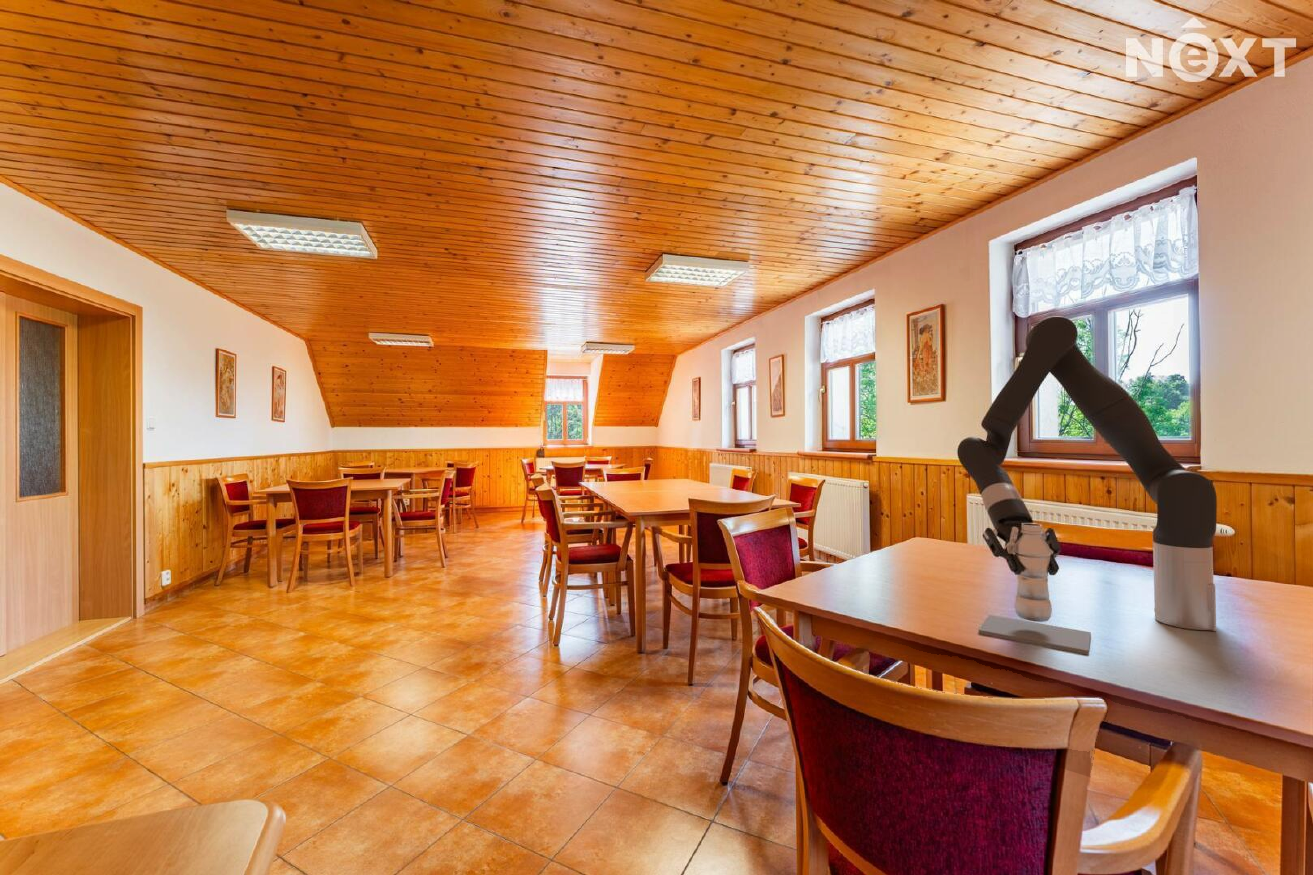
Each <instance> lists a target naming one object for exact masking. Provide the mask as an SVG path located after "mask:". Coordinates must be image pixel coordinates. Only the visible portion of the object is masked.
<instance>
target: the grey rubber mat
mask: <svg viewBox="0 0 1313 875" xmlns="http://www.w3.org/2000/svg"><path fill="white" fill-rule="evenodd" d="M978 634H979V635H984V636H990V637H995V638H1000V639H1004V640H1005V639H1006V640H1010V641H1015V642H1020V643H1025V642H1026V643H1025V644H1031V645H1035V646H1036V645H1037V646H1041V647H1045V648H1050V649H1051V648H1052V649H1057V650H1061V651H1067V652H1071V653H1075V654H1081V655H1087V656H1088V655H1089V654H1090V653H1089V652H1090V647H1091V646H1090V645H1091V638H1092V632H1091V631H1086V630H1079V629H1075V628H1074V629H1073V628H1069V627H1068V628H1067V627H1062V626H1057V625H1050V624H1046V623H1040V622H1035V621H1030V620H1024V619H1023V620H1022V619H1015V618H1010V617H1005V616H999V615H994V614H988V615H987V617H986V618H985V620H984V621H983V622H982V624H981V626H980V627H979V629H978Z"/></svg>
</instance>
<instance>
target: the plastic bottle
mask: <svg viewBox="0 0 1313 875" xmlns="http://www.w3.org/2000/svg"><path fill="white" fill-rule="evenodd" d="M1042 530H1043V525H1042V524H1040V523H1034V522H1033V523H1022V524H1021V533H1022V536H1021V537H1020V538H1019V539H1018V541H1017V542H1016V544H1015V546H1014V553H1013V554H1016V556H1017V558H1018V560H1019V563H1020V565H1021V567H1022V572H1021V573H1020V575H1016V576H1017V577H1016V578H1017V584H1016V594H1015V597H1014V598H1015V599H1014V605H1013V606H1014V610H1015V613H1016V615H1017V616H1018V617H1019V618H1020V619H1023V620H1025V621H1029V622H1035V623H1040V622H1041V623H1043V622H1048V621H1049V620H1050V619H1051V618H1052V612H1053V608H1052V601H1051V599H1050V590H1049V578H1048V577H1049V572H1048V568H1049V562H1050V555H1051V551H1050V548H1049V546H1048V545H1047V543H1046V542H1045V541H1044V539H1043V538H1042V537H1041V535H1042V534H1043V531H1042Z"/></svg>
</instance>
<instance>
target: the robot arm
mask: <svg viewBox="0 0 1313 875" xmlns="http://www.w3.org/2000/svg"><path fill="white" fill-rule="evenodd" d="M1078 337H1079V336H1078V328H1077V326H1076V324H1075V322H1074V321H1072V320H1071V319H1070V318H1067V317H1066V316H1061V315H1060V316H1059V315H1055V316H1048V317H1046V318H1044V319H1042V320H1039V321H1038V322H1037V323H1036V324H1035V325H1034V326H1032V328H1030V330H1029V332H1028V333H1027V335H1026V337H1025V346H1026V349H1025V351H1024V354H1023V356H1022V358H1021V359H1020V361H1019V363H1018V365H1017V367H1016V369H1015V370H1014V372H1013V373H1012V375H1011V376H1010V378H1009V379H1008V381H1007V382H1006V383H1005V384H1004V385H1003V387H1002V389H1001V390H1000V391H999V393H998V394H997V396H996V397H995V398H994V400H993V402H992V404H991V405H990V406H989V409H988V410H987V412H986V413H985V415H984V416H983V418H982V420H981V423H980V424H981V428H982V429H984V431H985V432H986V433H987V434H986V439H985V440H984V439H982V438H980V437H977V436H970V437H969V436H968V437H966V438H964V439H962V440H961V441H960V443H959V445H958V447H957V450H956V452H957V457H958V460H959V462H960V464H961V466H962V467H963V468H964V470H965V471H966V472H967V474H968V475H969V477H971V479H972V480H973V481H974V482H975V484H976V487H977V490H978V492H979V494H980V497H981V499H982V504H983V506H984V509H985V511H986V513H987V515H988V517H989V519H990V522H991V525H992V526H993V528H994V529H992V528H991V527H986V528H985V530H984V532H983V534H982V538H983V539H984V542H985V543H986V544H987V547H988V548H989V550H990V552H991V553H992V555H993V556H994V557H995V558H999V557H1001V558H1003V559H1004V560H1006V561H1005V562H1006V563H1007V565H1008V568H1009V570H1010V571H1011V572H1012V573H1014V575H1016V576H1017V575H1020V573H1021V572H1022V567H1021V565H1020V563H1019V560H1018V558H1017V556H1016V554H1015V553H1014V546H1015V544H1016V542H1017V541H1018V539H1019V538H1020V537H1021V536H1022V533H1021V524H1022V523H1034V521H1033V517H1032V515H1031V513H1030V511H1029V510H1028V508H1027V505H1026V503H1025V501H1024V500H1023V498H1022V496H1021V494H1020V492H1019V491H1018V489H1017V488H1016V486H1015V484H1014V483H1013V481H1012V479H1011V477H1010V475H1009V474H1008V472H1007V471H1006V470H1005V469H1004V468H1003V467H1001V466H1002V465H1003V463H1004V461H1005V459H1006V457H1007V453H1008V450H1009V446H1010V443H1011V439H1012V435H1013V432H1014V431H1015V429H1016V427H1017V426H1018V425H1019V423H1020V421H1021V420H1022V418H1023V416H1024V415H1025V413H1026V411H1027V410H1028V408H1029V406H1030V405H1031V403H1032V400H1033V398H1035V395H1036V394H1037V392H1038V390H1039V389H1040V387H1041V385H1042V384H1043V382H1044V380H1045V379H1046V378H1047V377H1048V375H1049V374H1051V375H1052V376H1053V377H1054V378H1055V380H1056V381H1058V383H1059V384H1060V386H1061V387H1062V388H1063V389H1064V391H1065V392H1066V394H1067V395H1068V397H1069V398H1070V399H1071V401H1072V402H1073V403H1074V405H1075V406H1076V407H1077V408H1078V410H1079V411H1080V412H1081V414H1082V415H1083V417H1085V419H1086V420H1087V421H1088V422H1089V424H1090V425H1091V427H1093V429H1094V430H1095V431H1096V432H1097V433H1098V434H1099V435H1100V436H1101V437H1102V439H1103V440H1104V441H1105V442H1106V443H1107V444H1108V445H1109V446H1110V447H1111V448H1112V449H1113V450H1114V451H1115V452H1116V453H1117V454H1118V455H1119V456H1120V457H1121V458H1122V459H1123V461H1125V462H1126V464H1128V466H1129V467H1130V469H1131V470H1132V472H1133V474H1134V475H1135V476H1136V478H1137V479H1138V481H1139V482H1140V483H1141V485H1142V486H1143V488H1144V490H1145V491H1146V493H1147V494H1148V497H1150V499H1151V500H1152V501H1153V502H1154V503H1155V504H1156V506H1157V507H1156V508H1157V511H1156V525H1155V527H1154V528H1153V530H1152V550H1153V551H1152V556H1153V557H1152V558H1153V561H1152V562H1153V591H1154V592H1153V594H1154V596H1153V598H1154V599H1153V600H1154V601H1153V602H1154V607H1153V609H1154V610H1153V611H1154V619H1155V621H1158V622H1160V623H1162V624H1164V625H1169V626H1171V627H1172V626H1173V627H1176V628H1181V629H1187V630H1195V631H1213V632H1217V604H1216V603H1217V602H1216V601H1217V600H1216V585H1215V583H1214V553H1213V551H1214V547H1213V546H1214V545H1213V542H1214V537H1215V534H1216V531H1217V518H1218V517H1217V513H1218V510H1217V509H1218V506H1217V504H1218V503H1217V502H1218V500H1217V499H1218V498H1217V492H1216V491H1217V490H1216V487H1215V485H1214V484H1213V482H1212V481H1211V480H1210V479H1208V478H1207V477H1206V476H1204V475H1203V474H1200V473H1197V472H1195V471H1190V470H1187V468H1185V467H1184V466H1183V465H1182V464H1181V463H1180V462H1178V460H1176V459H1175V457H1174V456H1172V454H1171V453H1170V452H1169V450H1167V449H1166V448H1165V447H1164V445H1163V444H1162V442H1161V441H1160V439H1159V438H1158V435H1157V433H1156V431H1155V428H1154V427H1153V424H1152V423H1151V422H1150V420H1149V418H1148V416H1147V414H1146V413H1145V411H1144V410H1143V409H1142V408H1141V406H1140V405H1139V404H1138V403H1137V401H1135V399H1134V398H1133V397H1132V396H1131V395H1130V393H1128V391H1127V390H1126V389H1125V388H1124V387H1122V385H1120V384H1119V383H1118V382H1117V381H1115V380H1114V379H1112V377H1110V376H1108V375H1107V374H1105V373H1104V372H1102V371H1101V370H1099V369H1098V368H1096V367H1095V366H1094V365H1093V364H1092V363H1091V362H1090V361H1089V360H1088V359H1087V358H1086V357H1085V355H1084V354H1083V353H1082V351H1081V350H1080V349H1079V347H1078V346H1077V344H1076V343H1077V340H1078ZM1042 531H1043V534H1042V535H1041V537H1042V538H1043V539H1044V541H1045V542H1046V543H1047V545H1048V546H1049V548H1050V551H1051V555H1050V562H1049V568H1048V575H1049V576H1056V574H1057V573H1058V572H1059V570H1060V566H1059V564H1058V562H1057V560H1056V558H1057V557H1058V555H1059V554H1060V553H1061V551H1062V548H1061V545H1060V543H1059V540H1058V538H1057V534H1056V533H1055V530H1054V529H1053V527H1048V528H1047V529H1042ZM998 538H999V539H1001V540H1002V541H1003V542H1004V547H1003V546H1002V543H1001V542H1000V541H999V539H998Z"/></svg>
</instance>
